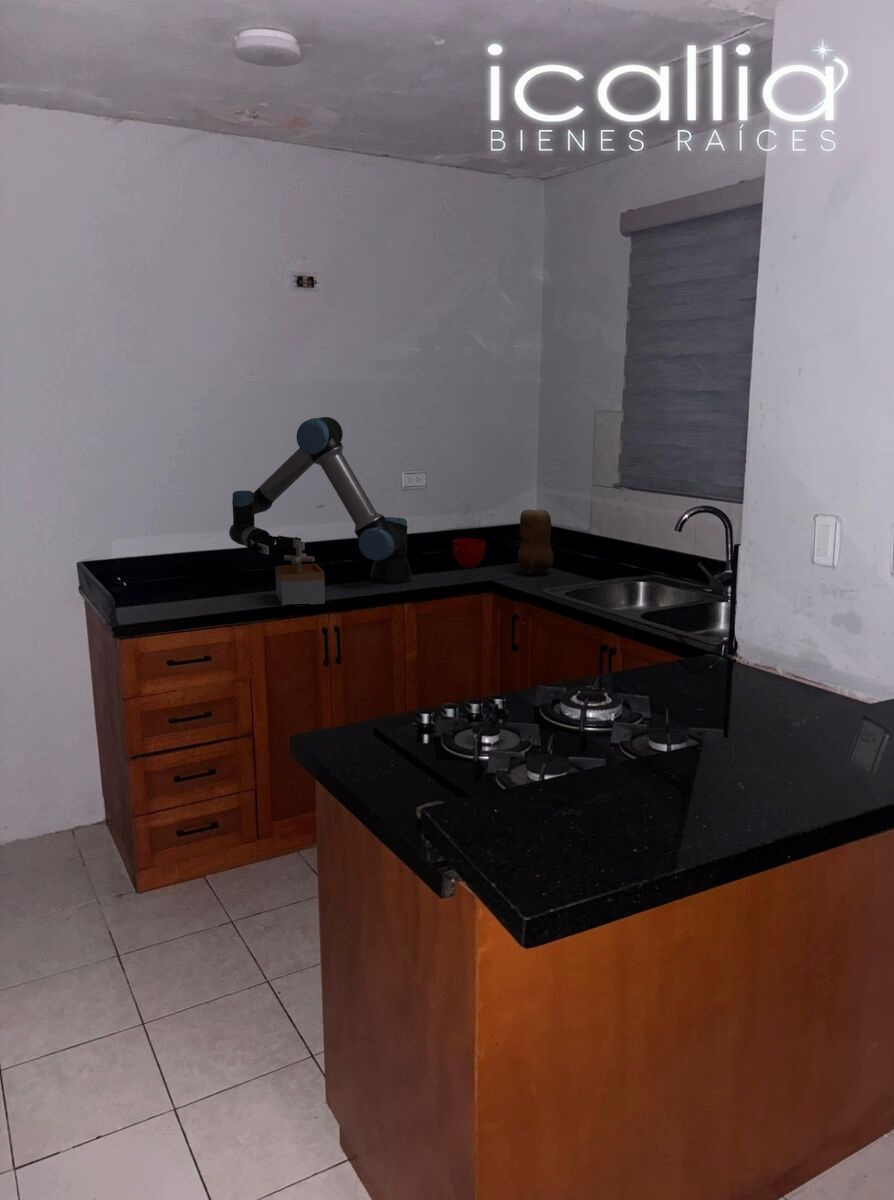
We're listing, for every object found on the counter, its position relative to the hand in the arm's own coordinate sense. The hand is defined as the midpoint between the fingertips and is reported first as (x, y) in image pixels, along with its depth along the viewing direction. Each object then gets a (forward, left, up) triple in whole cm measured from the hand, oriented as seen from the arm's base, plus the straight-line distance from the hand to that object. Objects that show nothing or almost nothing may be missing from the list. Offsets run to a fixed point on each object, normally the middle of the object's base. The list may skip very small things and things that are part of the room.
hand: (286, 548), depth 316 cm
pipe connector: (-3, +8, -7) cm, 11 cm away
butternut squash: (-95, -9, -16) cm, 97 cm away
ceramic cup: (-74, -28, -16) cm, 81 cm away
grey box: (-3, +8, -16) cm, 18 cm away
